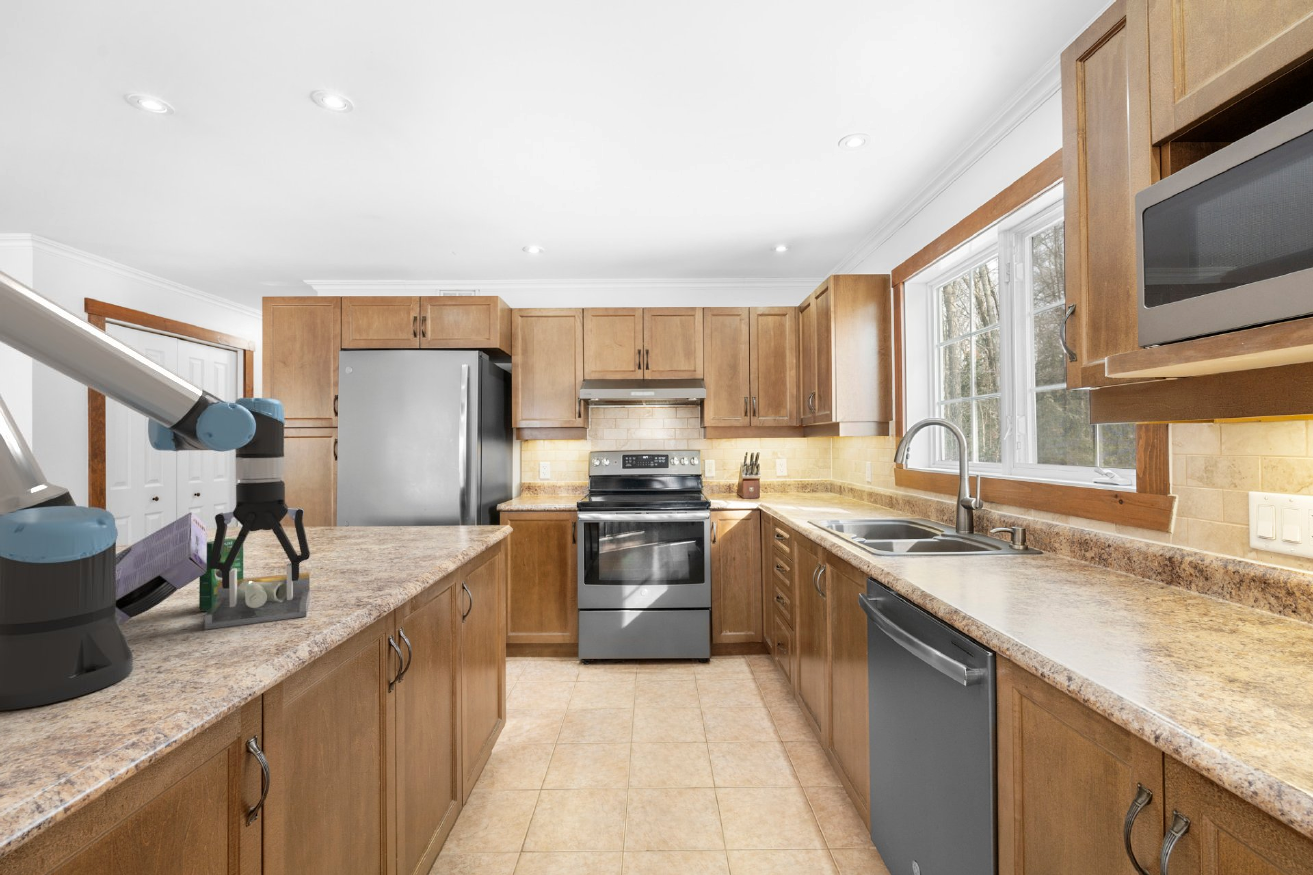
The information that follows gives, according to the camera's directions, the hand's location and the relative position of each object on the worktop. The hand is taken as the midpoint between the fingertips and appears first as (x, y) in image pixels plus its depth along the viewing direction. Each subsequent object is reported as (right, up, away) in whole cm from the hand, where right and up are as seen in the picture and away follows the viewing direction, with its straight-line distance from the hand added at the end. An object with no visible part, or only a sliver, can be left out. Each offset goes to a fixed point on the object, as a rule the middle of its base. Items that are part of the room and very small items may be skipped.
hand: (262, 601), depth 107 cm
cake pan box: (-25, +2, -6) cm, 26 cm away
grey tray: (-1, -3, +1) cm, 3 cm away
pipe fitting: (-1, 0, -1) cm, 1 cm away
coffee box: (-13, -3, +7) cm, 15 cm away
